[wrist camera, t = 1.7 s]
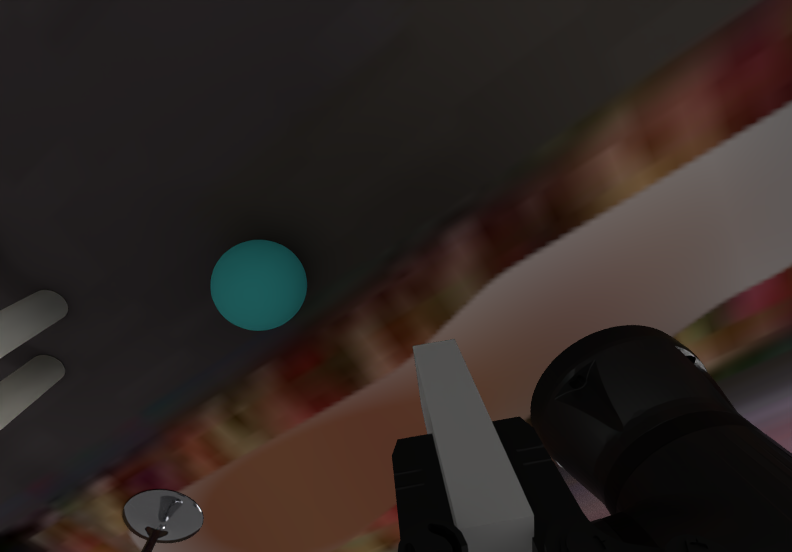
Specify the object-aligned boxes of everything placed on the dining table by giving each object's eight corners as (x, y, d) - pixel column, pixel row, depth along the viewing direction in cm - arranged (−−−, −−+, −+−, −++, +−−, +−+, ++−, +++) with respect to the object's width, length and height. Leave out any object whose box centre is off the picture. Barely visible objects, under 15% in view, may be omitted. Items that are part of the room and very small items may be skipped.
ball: (319, 299, 29) (310, 339, 24) (241, 312, 29) (213, 355, 24) (301, 223, 27) (286, 248, 21) (216, 236, 27) (179, 265, 21)
